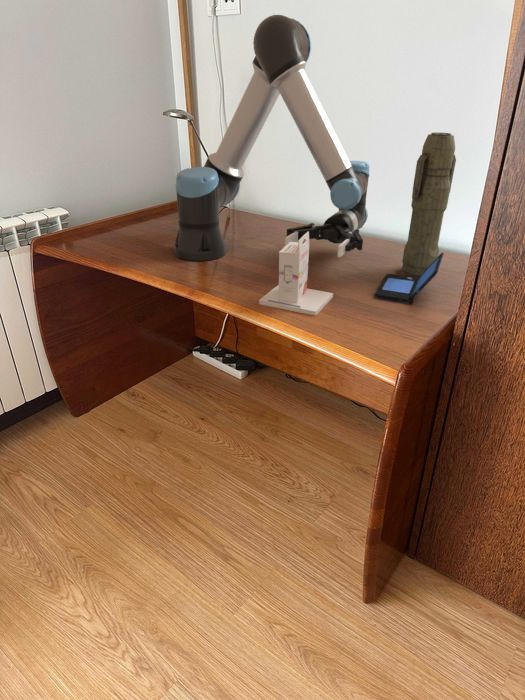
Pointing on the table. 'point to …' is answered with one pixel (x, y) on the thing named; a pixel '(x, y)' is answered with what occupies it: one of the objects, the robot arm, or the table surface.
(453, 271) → the table surface
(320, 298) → the notepad
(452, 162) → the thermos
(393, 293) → the handheld game console
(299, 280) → the ink cartridge box
